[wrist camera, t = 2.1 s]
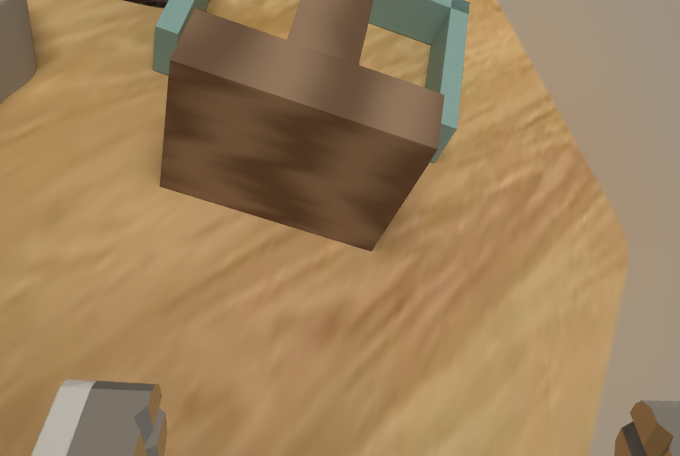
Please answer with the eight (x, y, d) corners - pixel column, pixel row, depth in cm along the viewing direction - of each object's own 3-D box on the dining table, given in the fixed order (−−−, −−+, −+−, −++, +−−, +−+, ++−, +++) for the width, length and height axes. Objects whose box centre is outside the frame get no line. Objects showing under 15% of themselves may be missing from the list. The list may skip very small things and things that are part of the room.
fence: (152, 70, 45) (155, 26, 42) (210, -47, 53) (216, -91, 49) (434, 163, 48) (456, 128, 44) (449, 39, 56) (469, 2, 52)
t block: (160, 186, 40) (169, 59, 31) (214, 58, 47) (235, -77, 38) (371, 251, 42) (438, 149, 33) (394, 118, 49) (455, 4, 40)
